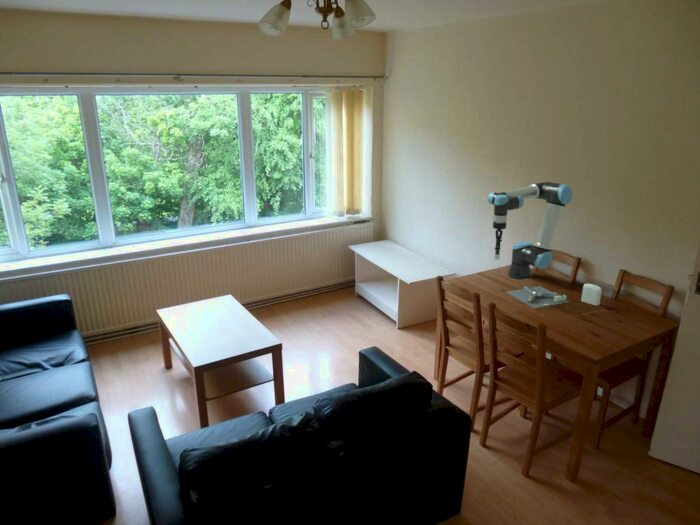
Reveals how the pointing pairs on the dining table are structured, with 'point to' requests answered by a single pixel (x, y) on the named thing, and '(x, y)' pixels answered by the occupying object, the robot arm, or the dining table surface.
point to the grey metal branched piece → (538, 293)
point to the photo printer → (591, 294)
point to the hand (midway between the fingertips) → (497, 255)
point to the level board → (538, 302)
